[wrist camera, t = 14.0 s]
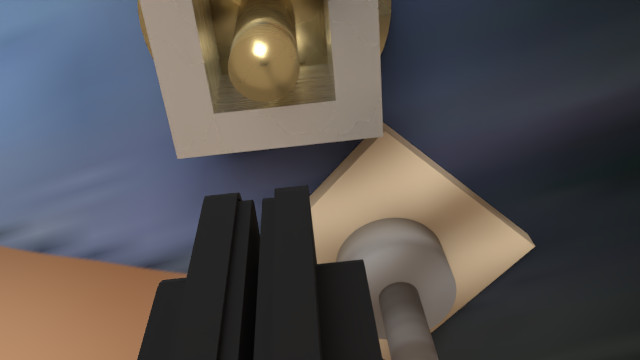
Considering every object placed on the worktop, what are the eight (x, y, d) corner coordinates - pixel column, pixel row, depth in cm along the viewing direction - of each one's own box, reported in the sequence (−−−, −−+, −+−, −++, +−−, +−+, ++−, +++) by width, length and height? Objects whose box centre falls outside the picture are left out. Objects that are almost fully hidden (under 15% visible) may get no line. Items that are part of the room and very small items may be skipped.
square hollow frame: (369, 96, 23) (383, 136, 20) (190, 115, 23) (177, 158, 20) (359, -101, 20) (375, -87, 17) (147, -79, 20) (124, -61, 17)
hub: (430, -18, 23) (489, 44, 17) (286, 145, 27) (289, 249, 20) (241, -193, 20) (225, -199, 14) (102, 17, 23) (36, 93, 17)
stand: (527, 234, 30) (636, 411, 21) (390, 350, 34) (432, 544, 25) (381, 120, 26) (436, 277, 17) (244, 265, 30) (230, 457, 21)
